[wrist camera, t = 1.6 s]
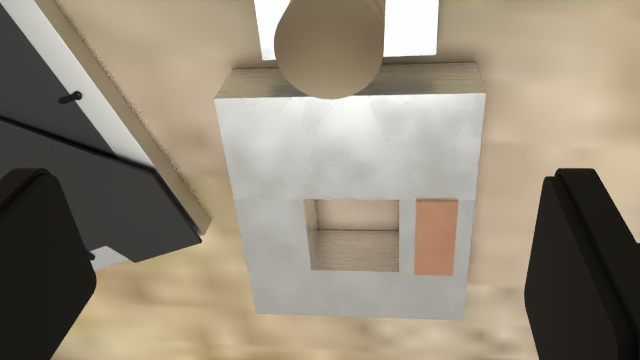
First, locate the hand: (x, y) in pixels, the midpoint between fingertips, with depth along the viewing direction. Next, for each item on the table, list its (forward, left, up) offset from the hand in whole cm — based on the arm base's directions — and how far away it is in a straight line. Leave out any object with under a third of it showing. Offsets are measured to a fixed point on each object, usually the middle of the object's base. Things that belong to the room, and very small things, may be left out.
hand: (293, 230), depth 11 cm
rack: (+8, 0, -17) cm, 19 cm away
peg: (0, 0, -16) cm, 16 cm away
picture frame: (+7, -20, -18) cm, 28 cm away
